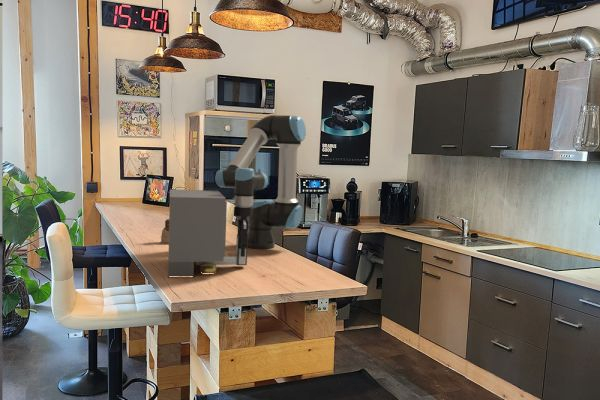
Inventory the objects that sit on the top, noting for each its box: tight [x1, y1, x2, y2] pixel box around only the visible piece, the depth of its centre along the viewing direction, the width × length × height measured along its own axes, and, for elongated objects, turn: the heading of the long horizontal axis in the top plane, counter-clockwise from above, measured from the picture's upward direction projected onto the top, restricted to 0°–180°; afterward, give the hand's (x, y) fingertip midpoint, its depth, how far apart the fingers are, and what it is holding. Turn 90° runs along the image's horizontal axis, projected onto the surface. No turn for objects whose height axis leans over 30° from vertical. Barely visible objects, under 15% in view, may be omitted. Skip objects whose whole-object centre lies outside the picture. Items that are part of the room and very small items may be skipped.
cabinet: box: [167, 189, 228, 277], centre depth 196 cm, size 22×28×30 cm
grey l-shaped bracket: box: [195, 234, 248, 266], centre depth 199 cm, size 20×4×12 cm, turn 104°
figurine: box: [160, 218, 169, 245], centre depth 242 cm, size 7×7×12 cm
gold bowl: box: [200, 264, 217, 273], centre depth 190 cm, size 6×6×3 cm
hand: (241, 262), depth 202 cm, fingers closed on grey l-shaped bracket, 4 cm apart
